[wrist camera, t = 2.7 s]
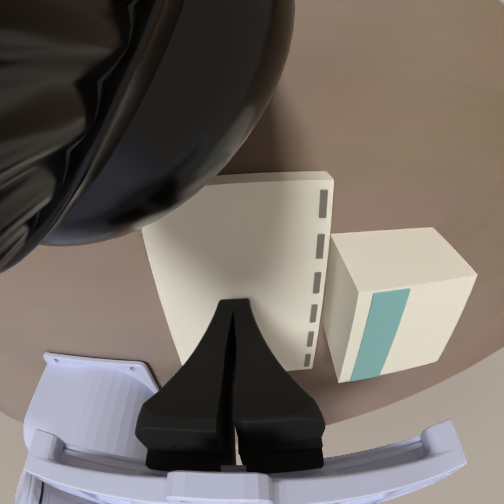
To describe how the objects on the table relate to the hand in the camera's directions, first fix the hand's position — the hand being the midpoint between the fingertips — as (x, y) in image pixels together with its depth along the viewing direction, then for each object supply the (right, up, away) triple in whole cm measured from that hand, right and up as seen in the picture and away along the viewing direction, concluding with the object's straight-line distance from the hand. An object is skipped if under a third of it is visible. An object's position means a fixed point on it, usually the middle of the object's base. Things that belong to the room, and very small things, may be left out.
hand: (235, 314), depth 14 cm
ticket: (0, +1, +2) cm, 2 cm away
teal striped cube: (+8, +2, +2) cm, 8 cm away
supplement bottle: (-2, +10, -4) cm, 11 cm away
